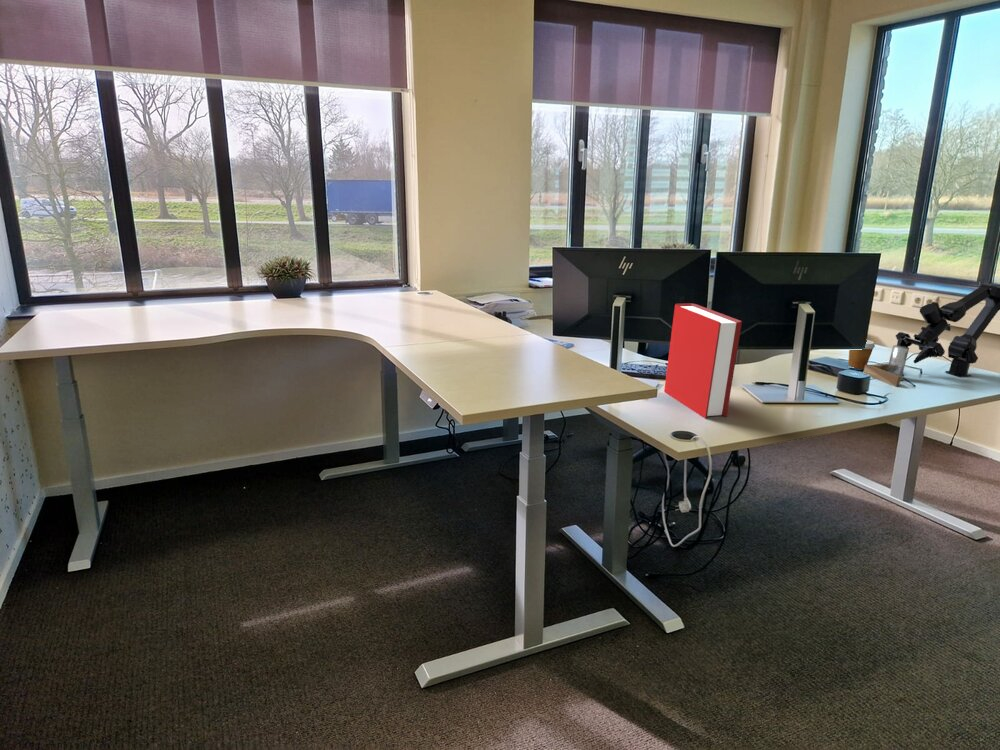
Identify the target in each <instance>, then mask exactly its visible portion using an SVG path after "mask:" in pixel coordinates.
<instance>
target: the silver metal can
mask: <svg viewBox="0 0 1000 750" xmlns="http://www.w3.org/2000/svg"><path fill="white" fill-rule="evenodd" d="M909 350H910V348H909V346H908V347H905V346H899V345H897V344H896V345H894V344H893V345H892V349H891V352H890V356H889V361H888V363H887V364H888V368H887V372H890V373H893V374H896V375H898V376H901V381H900V382H902V381H903V379H904V378H903V376H904V375H903V374H904V370H905V367H906V362H907V358H908V354H909Z"/></svg>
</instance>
